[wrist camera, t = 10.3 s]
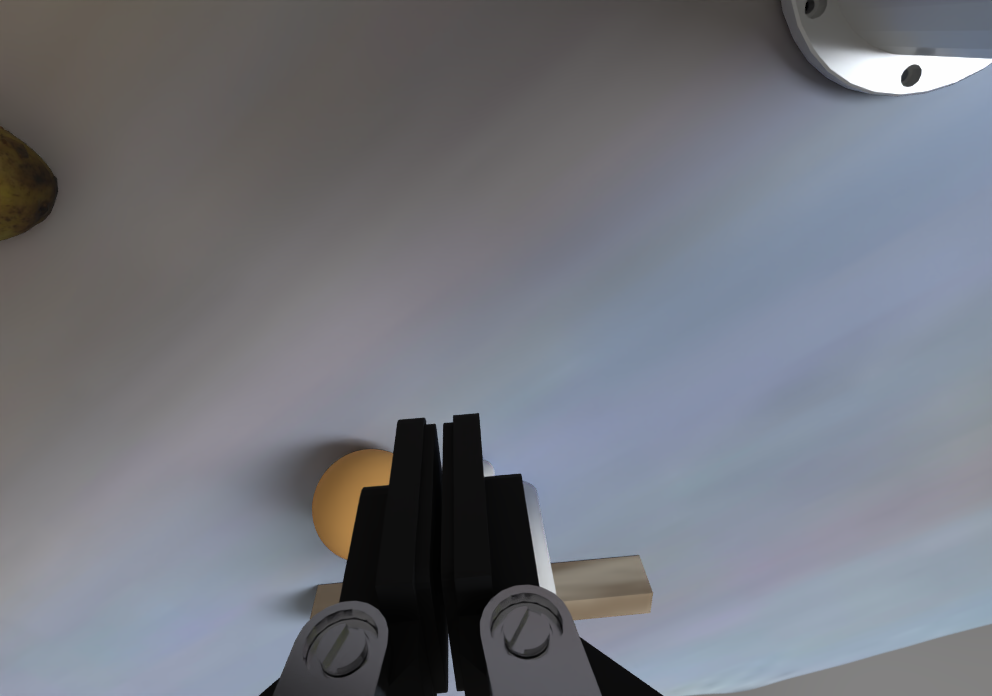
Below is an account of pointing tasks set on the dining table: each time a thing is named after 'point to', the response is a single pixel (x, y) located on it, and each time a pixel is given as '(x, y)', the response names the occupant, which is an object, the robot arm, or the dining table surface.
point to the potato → (23, 187)
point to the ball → (346, 495)
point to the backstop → (573, 588)
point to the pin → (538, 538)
